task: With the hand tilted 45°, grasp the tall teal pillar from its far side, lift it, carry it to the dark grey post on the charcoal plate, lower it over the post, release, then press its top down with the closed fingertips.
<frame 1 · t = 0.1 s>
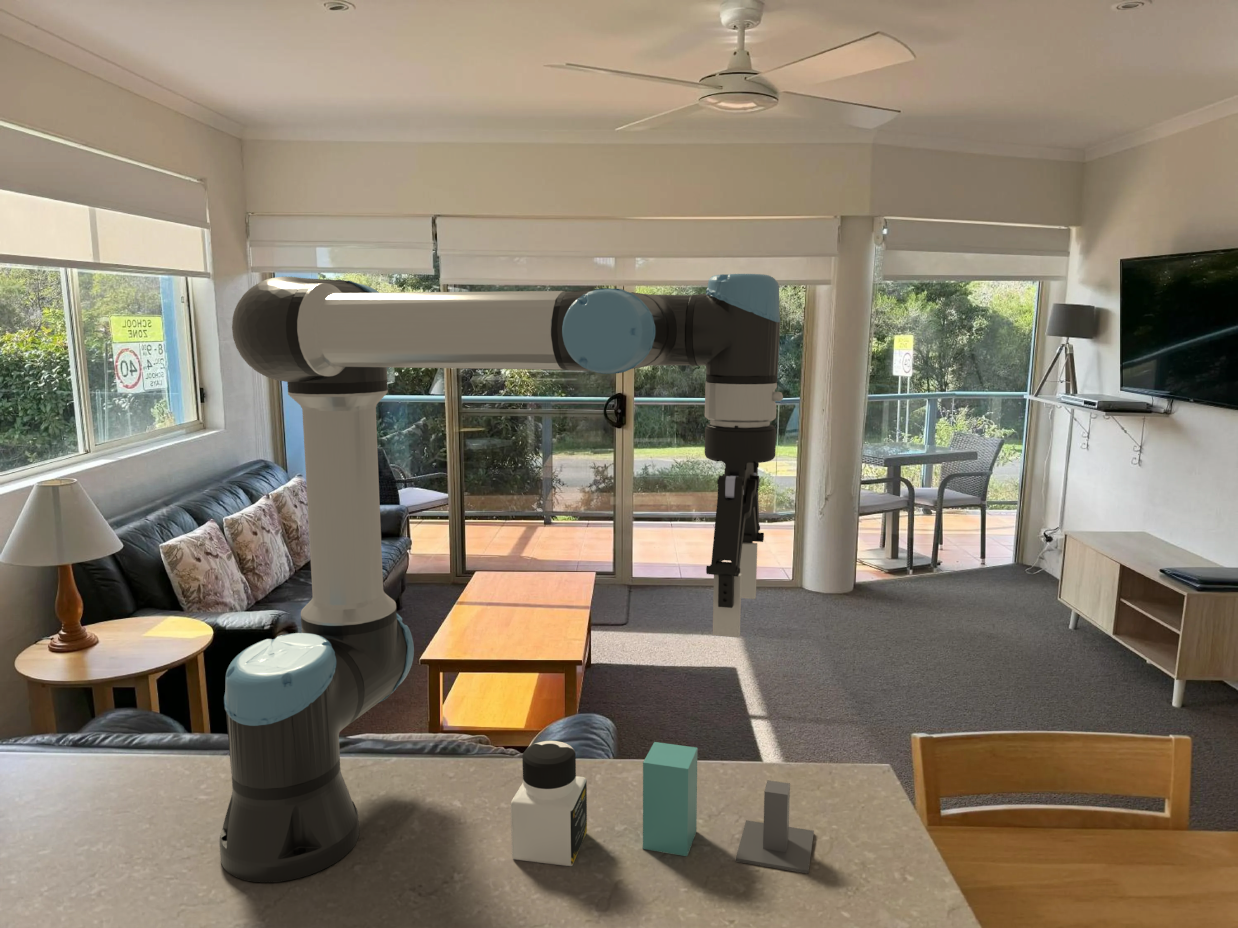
hand: (735, 615, 97), 28 cm above the countertop, tool pointing down, fingers open, 13 cm apart
medicine bottle: (550, 847, 102), on the countertop
tall teal pillar: (670, 839, 103), on the countertop
post: (775, 846, 102), on the countertop
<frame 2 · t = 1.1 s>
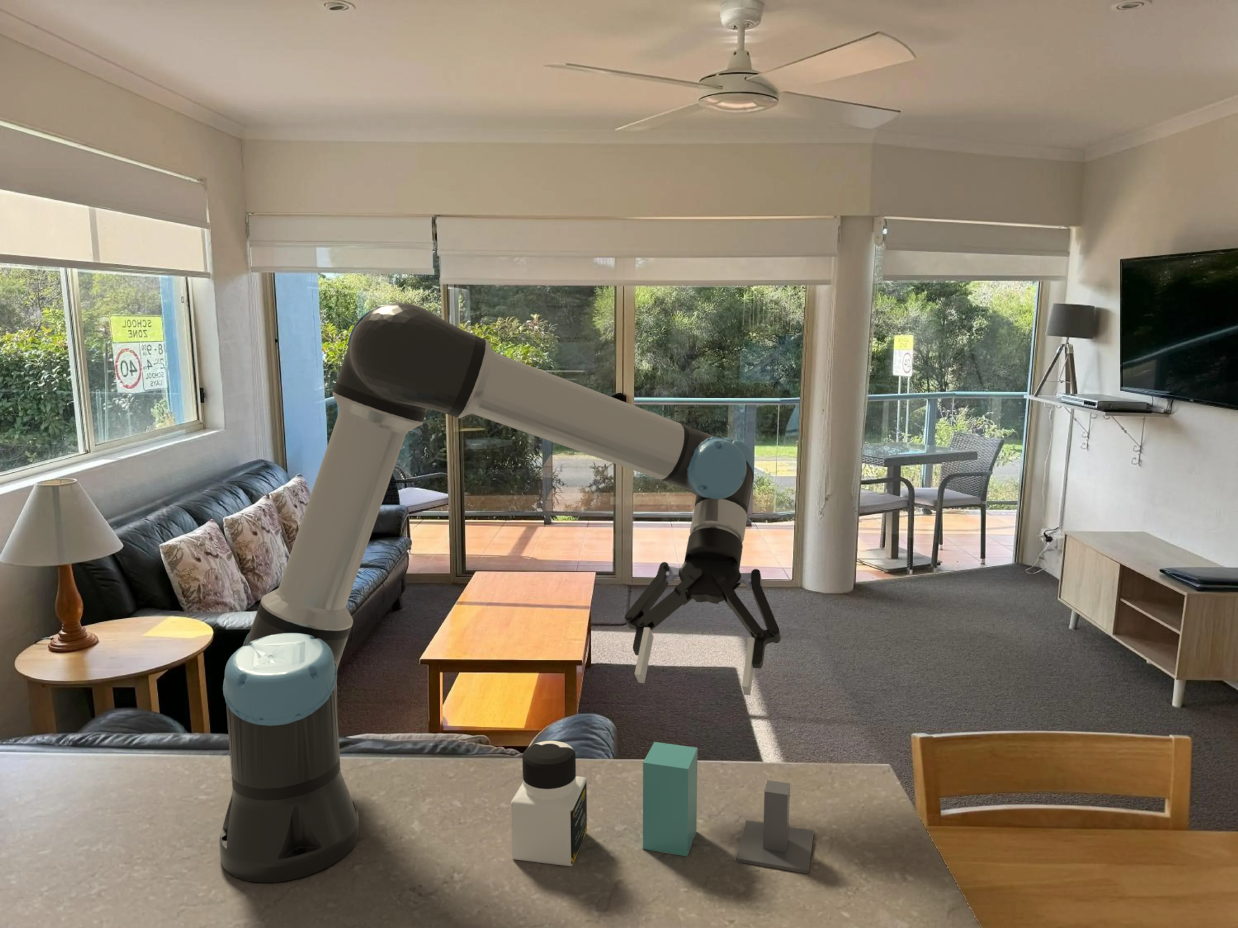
hand: (691, 684, 110), 15 cm above the countertop, tool tilted 45°, fingers open, 13 cm apart
nothing on the countertop moved.
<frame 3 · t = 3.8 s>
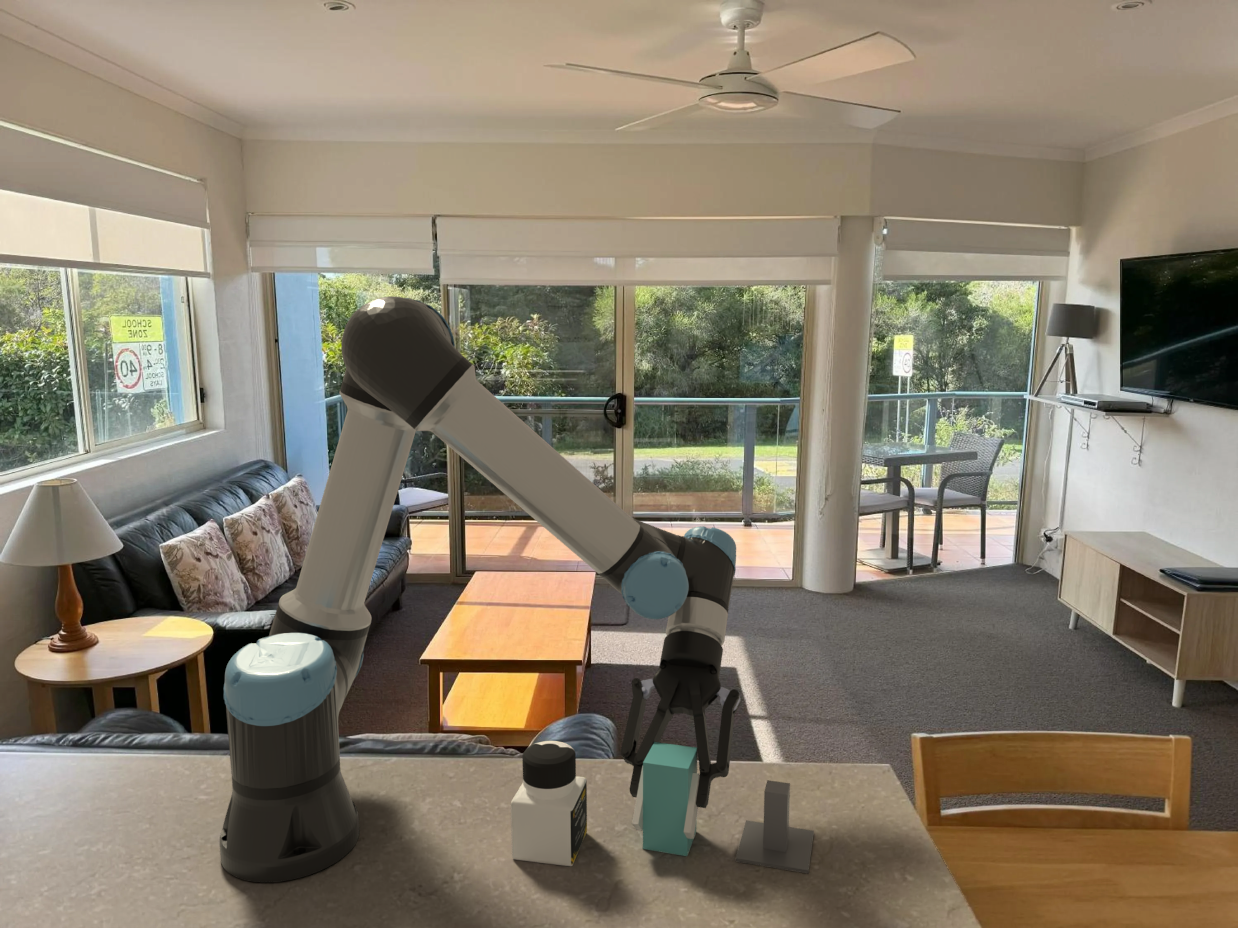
hand: (662, 830, 99), 3 cm above the countertop, tool tilted 45°, fingers closed on tall teal pillar, 5 cm apart
tall teal pillar: (670, 839, 103), on the countertop, touching gripper
everything else where it was.
when the fingers open (5 cm above the countertop, at t = 9.5 s): tall teal pillar drops 1 cm, resting on post.
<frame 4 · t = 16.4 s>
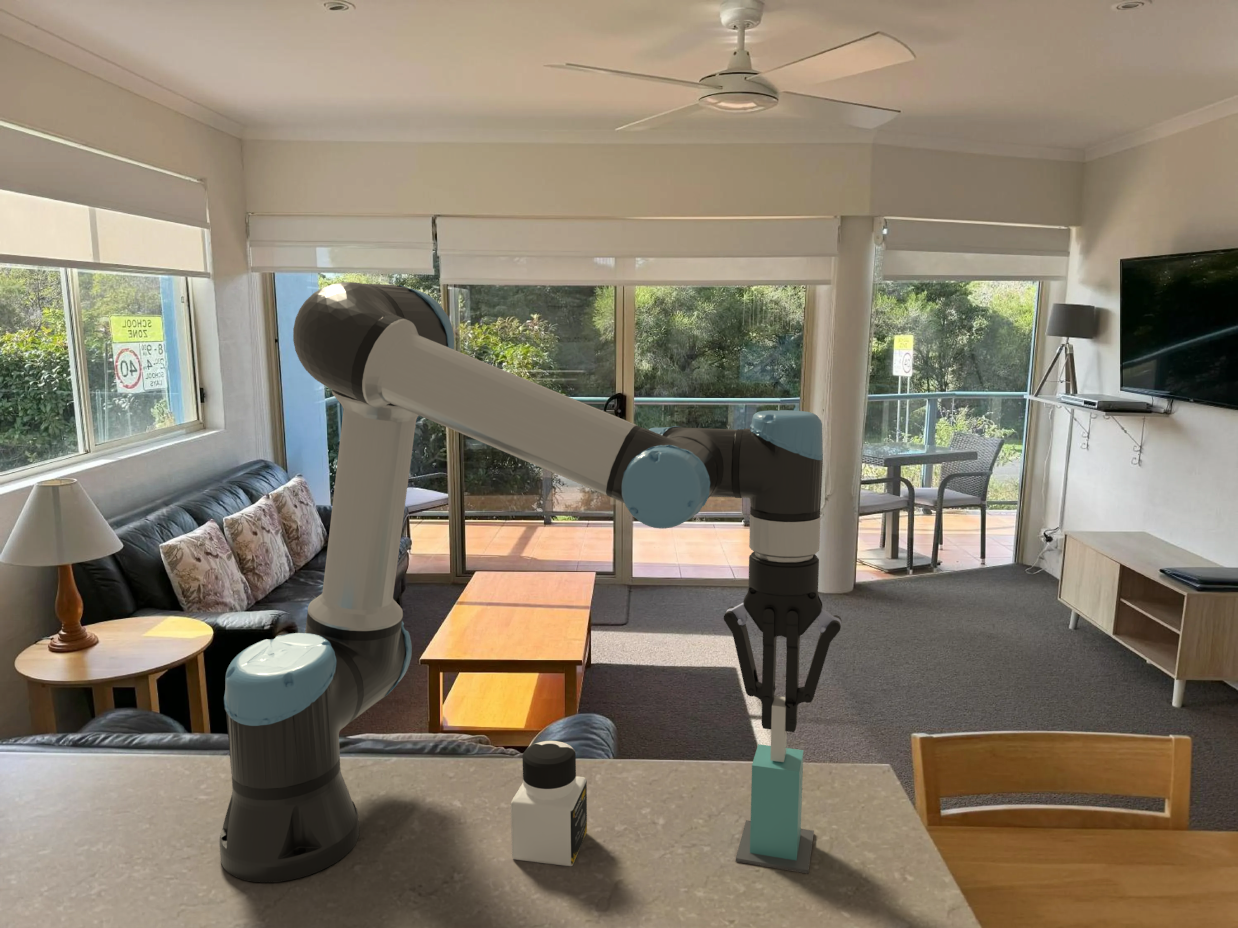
hand: (778, 755, 100), 11 cm above the countertop, tool pointing down, fingers closed
tall teal pillar: (775, 843, 102), resting on post, touching gripper
everything else where it was.
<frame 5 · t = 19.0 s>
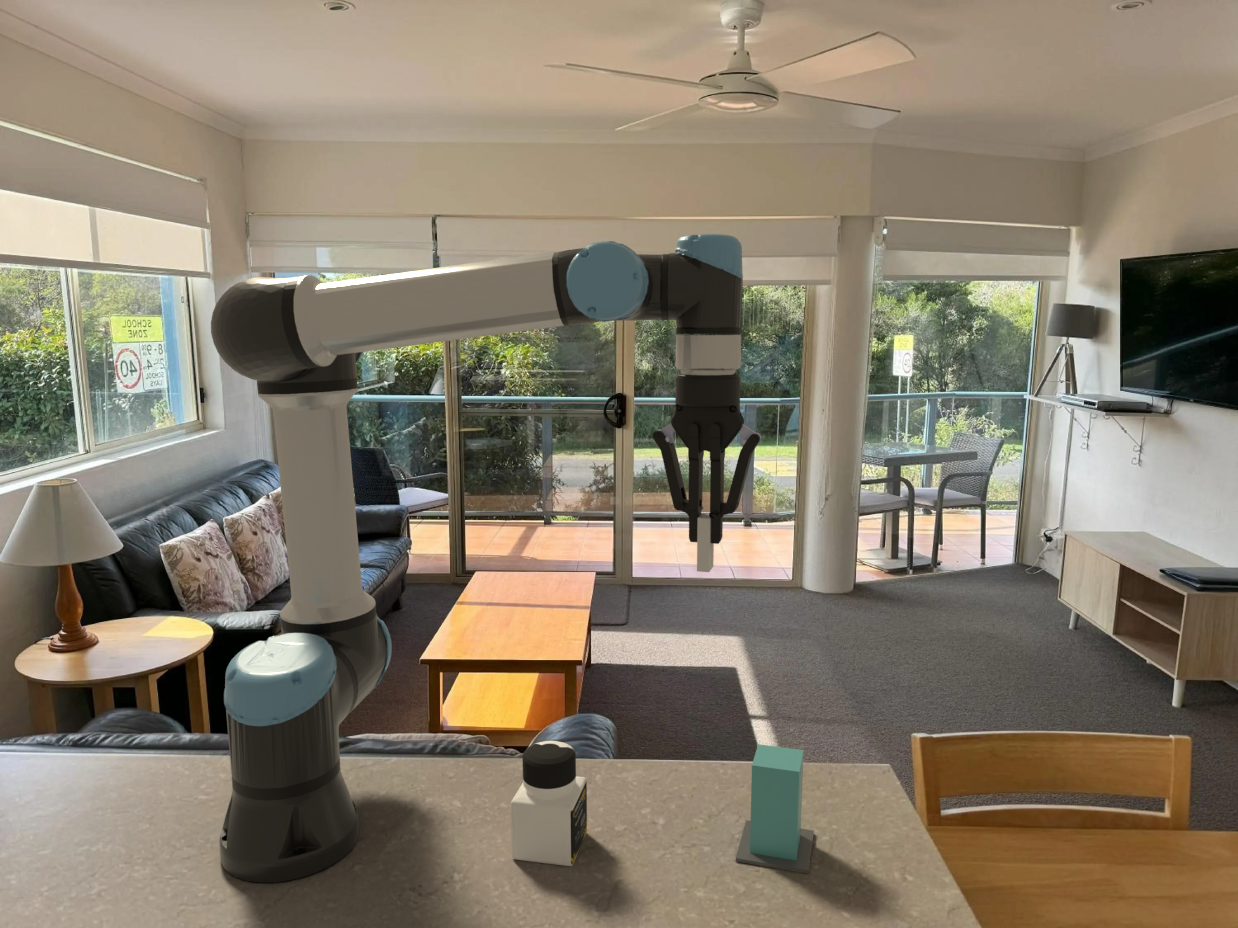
hand: (705, 568, 106), 30 cm above the countertop, tool pointing down, fingers closed
tall teal pillar: (775, 843, 102), resting on post
everything else where it was.
at the end: tall teal pillar 0.0 cm from the post (horizontally); tall teal pillar resting on post; the gripper is holding nothing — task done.
